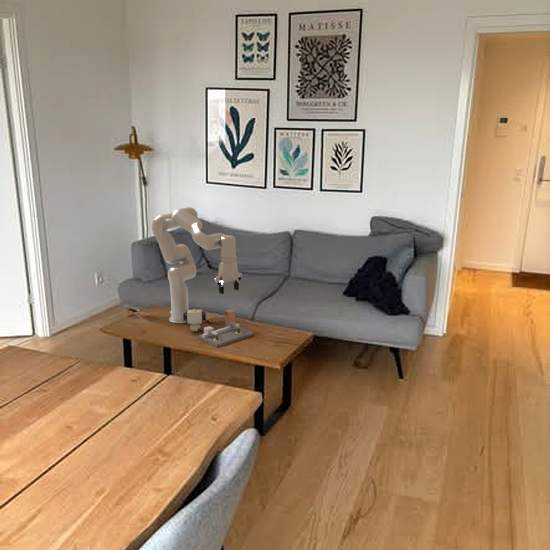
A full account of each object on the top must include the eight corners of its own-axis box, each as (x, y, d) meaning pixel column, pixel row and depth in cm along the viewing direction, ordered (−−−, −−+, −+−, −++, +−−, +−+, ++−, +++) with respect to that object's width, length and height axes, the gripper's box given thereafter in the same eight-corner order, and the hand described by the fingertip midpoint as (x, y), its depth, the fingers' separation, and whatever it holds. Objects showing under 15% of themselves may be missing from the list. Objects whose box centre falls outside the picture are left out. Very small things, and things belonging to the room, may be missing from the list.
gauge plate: (198, 338, 279) (197, 327, 277) (234, 327, 295) (234, 316, 293) (216, 347, 268) (216, 336, 266) (253, 335, 283) (253, 324, 282)
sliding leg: (225, 328, 288) (224, 310, 285) (231, 326, 290) (230, 309, 288) (236, 333, 281) (235, 315, 278) (242, 331, 283) (241, 313, 281)
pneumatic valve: (206, 331, 288) (205, 310, 285) (184, 332, 288) (182, 310, 285) (206, 327, 294) (205, 306, 291) (184, 328, 293) (183, 307, 290)
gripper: (237, 255, 286) (237, 286, 291) (210, 261, 275) (211, 293, 279) (246, 258, 281) (246, 290, 285) (219, 263, 269) (220, 296, 274)
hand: (229, 291), depth 282 cm, fingers open, 9 cm apart
